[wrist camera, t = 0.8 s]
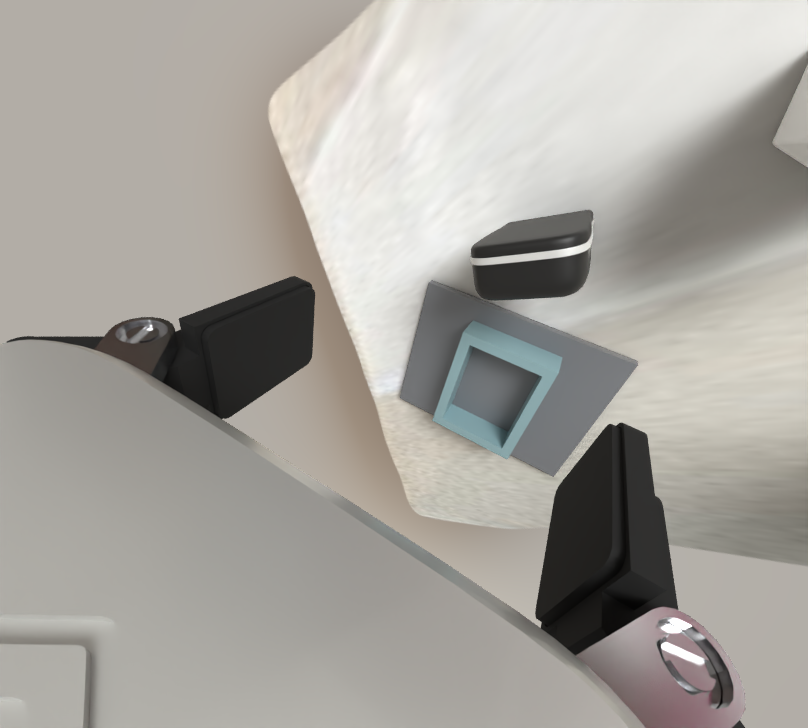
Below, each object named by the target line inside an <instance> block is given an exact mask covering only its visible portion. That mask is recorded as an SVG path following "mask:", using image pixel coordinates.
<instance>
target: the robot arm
mask: <svg viewBox="0 0 808 728" xmlns="http://www.w3.org/2000/svg"><path fill="white" fill-rule="evenodd" d="M314 304H315V292H314V290H313V289H312V285H311V284H310V283H309V282H307V281H304V280H302V279H300V278H298V277H295V276H293V277H289V278H287V279H284V280H281V281H279V282H276V283H274V284H271V285H268V286H265V287H262V288H260V289H257V290H254V291H252V292H249V293H247V294H244V295H241V296H238V297H236V298H233V299H230V300H228V301H225V302H222V303H220V304H217V305H214V306H211V307H209V308H206V309H203V310H201V311H198V312H195V313H193V314H190V315H187V316H185V317H182V318H179V322H180V327H181V330H179V331H176V332H175V328H174V326H173V324H172V323H170V322H169V321H167V320H164V319H161V318H154V317H141V318H135V319H130V320H126V321H123V322H121V323H119V324H117V325H115V326H114V327H112V328H111V329H110V330H109V331H108V333H107V334H106V335H105V336H104V337H33V336H32V337H31V336H27V337H19V338H15V339H12V340H9V341H7V343H3V344H0V728H745V727H744V726H743V724H742V723H741V721H740V719H741V717H742V715H743V713H744V711H745V693H744V689H743V686H742V683H741V680H740V677H739V675H738V673H737V671H736V669H735V667H734V665H733V663H732V661H731V659H730V658H729V656H728V655H727V654H726V652H725V651H724V650H723V648H722V647H721V645H720V644H719V643H718V641H717V640H716V639H715V638H714V637H713V636H712V635H711V634H710V633H709V632H708V631H707V630H706V629H705V628H704V627H703V626H702V625H700V624H699V623H698V622H696V621H695V620H694V619H692V618H691V617H690V616H688V615H686V614H684V613H682V612H680V611H678V606H677V599H676V593H675V585H674V578H673V571H672V565H671V558H670V552H669V544H668V537H667V531H666V524H665V517H664V510H663V505H662V502H661V500H660V499H659V498H658V497H656V496H655V493H654V485H653V477H652V469H651V462H650V454H649V446H648V438H647V434H646V433H644V432H642V431H640V430H637V429H635V428H633V427H631V426H628V425H626V424H624V423H619V424H618V425H617V426H614V425H612V424H609V425H607V426H606V428H605V429H604V430H603V431H602V433H601V434H600V435H599V436H598V438H597V439H596V440H595V441H594V443H593V444H592V445H591V446H590V448H589V449H588V450H587V451H586V453H585V454H584V455H583V456H582V458H581V459H580V460H579V461H578V463H577V464H576V465H575V466H574V468H573V469H572V470H571V471H570V473H569V474H568V475H567V476H566V478H565V479H564V480H563V481H562V483H561V484H560V485H559V487H558V489H557V491H556V494H555V498H554V504H553V510H552V516H551V522H550V528H549V534H548V540H547V546H546V552H545V558H544V564H543V570H542V575H541V581H540V587H539V593H538V599H537V605H536V613H535V614H536V618H537V619H538V620H540V621H541V622H542V624H541V628H539V627H538V626H537V625H535V624H534V623H532V622H531V621H530V620H528V619H527V618H526V617H524V616H523V615H522V614H520V613H519V612H517V611H516V610H515V609H513V608H512V607H510V606H509V605H507V604H505V603H504V602H503V601H501V600H500V599H498V598H497V597H495V596H494V595H492V594H491V593H489V592H488V591H486V590H484V589H483V588H482V587H480V586H479V585H477V584H476V583H474V582H473V581H471V580H470V579H468V578H467V577H465V576H464V575H462V574H461V573H459V572H458V571H456V570H455V569H453V568H452V567H451V566H449V565H448V564H446V563H445V562H443V561H441V560H440V559H438V558H437V557H435V556H434V555H432V554H431V553H429V552H428V551H426V550H424V549H423V548H421V547H420V546H418V545H416V544H415V543H413V542H412V541H410V540H409V539H407V538H406V537H404V536H403V535H401V534H400V533H398V532H396V531H395V530H394V529H392V528H390V527H389V526H387V525H386V524H384V523H383V522H381V521H380V520H378V519H377V518H375V517H373V516H372V515H370V514H369V513H367V512H366V511H364V510H363V509H361V508H360V507H358V506H357V505H355V504H353V503H352V502H350V501H349V500H347V499H346V498H344V497H343V496H341V495H339V494H338V493H336V492H335V491H333V490H332V489H330V488H329V487H327V486H325V485H324V484H322V483H321V482H319V481H318V480H316V479H314V478H313V477H311V476H310V475H308V474H307V473H305V472H304V471H302V470H300V469H299V468H297V467H295V466H294V465H292V464H291V463H289V462H288V461H286V460H285V459H283V458H282V457H280V456H279V455H277V454H275V453H274V452H272V451H271V450H269V449H268V448H266V447H264V446H263V445H261V444H260V443H258V442H257V441H255V440H254V439H252V438H250V437H249V436H247V435H246V434H244V433H242V432H241V431H239V430H238V429H236V428H235V427H233V426H231V425H230V424H228V423H227V422H225V421H223V420H222V419H223V418H225V419H226V418H229V417H231V416H232V415H234V414H235V413H237V412H238V411H240V410H241V409H242V408H244V407H246V406H247V405H249V404H250V403H251V402H253V401H254V400H256V399H257V398H259V397H260V396H262V395H263V394H264V393H266V392H268V391H269V390H271V389H272V388H273V387H275V386H276V385H278V384H279V383H281V382H282V381H284V380H285V379H287V378H288V377H290V376H291V375H293V374H294V373H296V372H297V371H298V370H300V369H301V368H303V367H304V366H306V365H307V364H308V363H309V362H310V360H311V358H312V347H313V326H314Z"/></svg>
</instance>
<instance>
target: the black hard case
mask: <svg viewBox="0 0 808 728" xmlns="http://www.w3.org/2000/svg"><path fill="white" fill-rule="evenodd" d="M593 225H594V218H593V212H592V211H591V210H585V211H579V212H572V213H566V214H560V215H553V216H547V217H541V218H535V219H529V220H522V221H516V222H510V223H508V224H506V225H505V226H503V227H502V228H500V229H498V230H496V231H495V232H493V233H491V234H489V235H488V236H486V237H484V238H483V239H481V240H480V241H478V242H477V243H475V244H474V245H473V246H472V248H471V256H470V260H471V264H472V265H473V274H474V283H475V287H476V290H477V292H478V294H479V295H480V296H481V297H482V298H484V299H488V300H514V299H534V298H551V297H563V296H568V295H571V294H573V293H575V292H577V291H578V290H579V289H580V288H581V287H582V286H583V285H584V283H585V281H586V279H587V276H588V273H589V268H590V261H591V243H592V240H593Z"/></svg>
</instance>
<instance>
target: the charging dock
mask: <svg viewBox="0 0 808 728" xmlns="http://www.w3.org/2000/svg"><path fill="white" fill-rule="evenodd" d="M637 366H638V363H637V361H636V360H633V359H631V358H628V357H626V356H623V355H621V354H618V353H616V352H613V351H610V350H608V349H605V348H603V347H600V346H598V345H595V344H593V343H590V342H588V341H585V340H583V339H580V338H577V337H575V336H572V335H570V334H567V333H565V332H562V331H560V330H557V329H555V328H552V327H549V326H547V325H544V324H542V323H539V322H537V321H534V320H532V319H529V318H527V317H524V316H522V315H519V314H516V313H514V312H511V311H509V310H506V309H504V308H501V307H499V306H496V305H494V304H491V303H488V302H486V301H483V300H481V299H478V298H476V297H473V296H471V295H468V294H466V293H463V292H460V291H458V290H455V289H453V288H450V287H448V286H445V285H443V284H440V283H438V282H435V281H433V280H432V281H430V282H429V284H428V288H427V292H426V296H425V300H424V304H423V308H422V312H421V316H420V320H419V324H418V328H417V332H416V335H415V339H414V343H413V347H412V351H411V355H410V359H409V363H408V367H407V371H406V375H405V379H404V383H403V387H402V391H401V395H400V398H401V399H403V400H405V401H407V402H409V403H411V404H412V405H414V406H416V407H418V408H420V409H422V410H424V411H426V412H428V413H430V414H432V415H434V417H433V420H432V421H434V422H436V423H438V424H440V425H442V426H444V427H446V428H448V429H449V430H451V431H453V432H455V433H457V434H459V435H461V436H463V437H465V438H467V439H469V440H471V441H473V442H475V443H476V444H478V445H480V446H482V447H484V448H486V449H488V450H490V451H492V452H494V453H496V454H498V455H500V456H502V457H503V458H505V459H508V458H509V456H510V455H512V456H514V457H516V458H518V459H520V460H522V461H524V462H526V463H527V464H529V465H531V466H533V467H535V468H537V469H539V470H541V471H543V472H545V473H547V474H549V475H551V476H553V477H554V475H555V474H556V473H557V471H558V470H559V469H560V467H561V466H562V465H563V463H564V462H565V461H566V459H567V458H568V457H569V456H570V454H571V453H572V452H573V450H574V449H575V448H576V446H577V445H578V444H579V442H580V441H581V440H582V438H583V437H584V436H585V434H586V433H587V432H588V430H589V429H590V428H591V426H592V425H593V424H594V422H595V421H596V420H597V418H598V417H599V416H600V415H601V413H602V412H603V411H604V409H605V408H606V407H607V405H608V404H609V403H610V401H611V400H612V399H613V397H614V396H615V395H616V393H617V392H618V391H619V389H620V388H621V387H622V385H623V384H624V383H625V381H626V380H627V379H628V377H629V376H630V375H631V374H632V372H633V371H634V370H635V368H636V367H637Z"/></svg>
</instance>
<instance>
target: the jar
mask: <svg viewBox="0 0 808 728" xmlns="http://www.w3.org/2000/svg"><path fill="white" fill-rule="evenodd" d="M772 143H773V145H774V146H775V147H777V148H778V149H780V150H781V151H783V152H784V153H786V154H787V155H789V156H790V157H792V158H793V159H795V160H796V161H798V162H800V163H801V164H803V165H804V166H806V167H807V168H808V65H807V67H806V69H805V71H804V73H803V76H802V78H801V80H800V82H799V84H798V87H797V89H796V91H795V93H794V95H793V98H792V100H791V102H790V104H789V106H788V109H787V111H786V113H785V115H784V117H783V120H782V122H781V124H780V126H779V128H778V131H777V133H776V135H775V137H774V139H773V142H772Z"/></svg>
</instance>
